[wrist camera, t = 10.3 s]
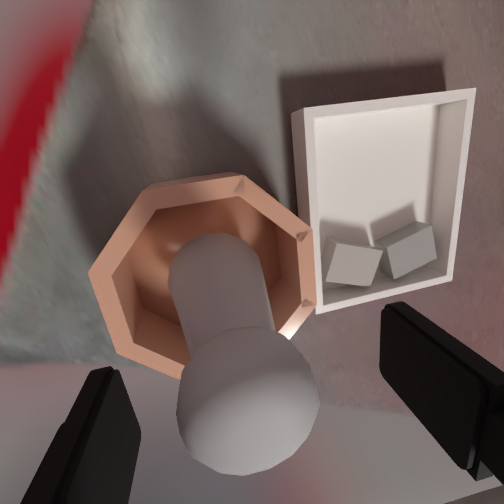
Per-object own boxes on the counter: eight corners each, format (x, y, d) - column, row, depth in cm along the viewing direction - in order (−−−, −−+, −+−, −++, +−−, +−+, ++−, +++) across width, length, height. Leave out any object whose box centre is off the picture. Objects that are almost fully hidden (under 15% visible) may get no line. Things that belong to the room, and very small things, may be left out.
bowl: (280, 163, 19) (308, 164, 15) (293, 314, 23) (319, 350, 19) (93, 191, 17) (62, 202, 13) (144, 350, 21) (133, 401, 17)
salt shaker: (176, 217, 18) (159, 334, 6) (260, 230, 20) (382, 345, 8) (165, 299, 20) (134, 523, 8) (244, 305, 21) (323, 500, 9)
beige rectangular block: (370, 244, 23) (383, 250, 21) (358, 278, 24) (370, 286, 22) (326, 237, 22) (337, 243, 20) (316, 273, 22) (325, 281, 21)
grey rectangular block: (415, 220, 23) (431, 225, 22) (421, 252, 24) (436, 258, 23) (373, 241, 23) (386, 247, 21) (381, 272, 24) (394, 279, 22)
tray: (447, 94, 20) (476, 87, 18) (430, 270, 25) (451, 280, 23) (290, 113, 18) (303, 107, 16) (304, 300, 23) (316, 314, 21)
